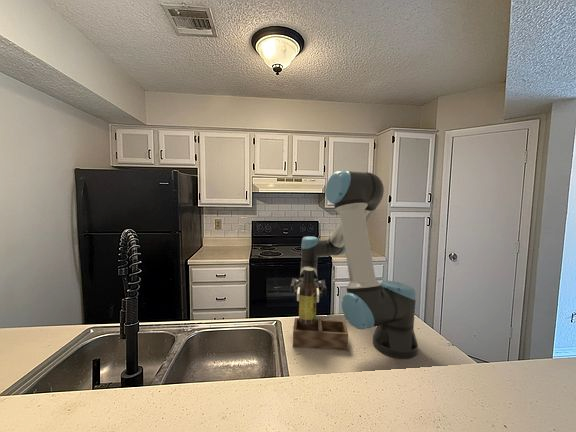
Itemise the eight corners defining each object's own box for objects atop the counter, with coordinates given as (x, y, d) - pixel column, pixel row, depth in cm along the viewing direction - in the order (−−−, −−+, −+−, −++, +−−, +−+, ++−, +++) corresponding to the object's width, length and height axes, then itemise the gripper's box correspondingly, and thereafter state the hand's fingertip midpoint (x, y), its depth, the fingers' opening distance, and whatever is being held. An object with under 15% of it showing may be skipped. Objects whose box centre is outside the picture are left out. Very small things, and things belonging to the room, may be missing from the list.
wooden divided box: (344, 335, 106) (344, 320, 106) (347, 350, 96) (348, 334, 96) (294, 332, 108) (294, 317, 107) (292, 347, 98) (293, 330, 97)
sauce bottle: (316, 325, 99) (318, 272, 96) (299, 325, 99) (300, 271, 96) (314, 317, 105) (316, 266, 103) (298, 316, 105) (299, 266, 103)
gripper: (330, 286, 118) (335, 310, 95) (286, 284, 120) (280, 306, 97) (331, 269, 118) (336, 289, 95) (286, 267, 119) (280, 286, 96)
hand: (307, 298), depth 96 cm, fingers closed on sauce bottle, 6 cm apart
